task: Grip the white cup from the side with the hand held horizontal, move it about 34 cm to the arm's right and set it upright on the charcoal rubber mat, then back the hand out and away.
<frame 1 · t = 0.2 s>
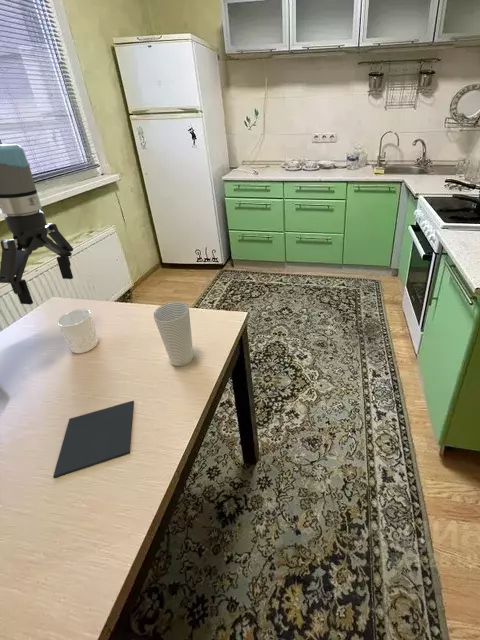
hand: (49, 290, 86), 18 cm above the table, tool pointing down, fingers open, 13 cm apart
white cup: (85, 346, 93), on the table
right mat: (98, 435, 67), on the table
cup: (182, 358, 87), on the table
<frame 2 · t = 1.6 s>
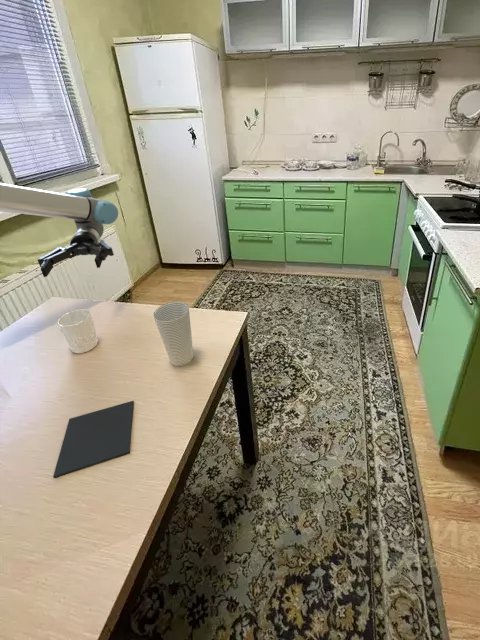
hand: (70, 268, 93), 20 cm above the table, tool horizontal, fingers open, 13 cm apart
nothing on the table moved.
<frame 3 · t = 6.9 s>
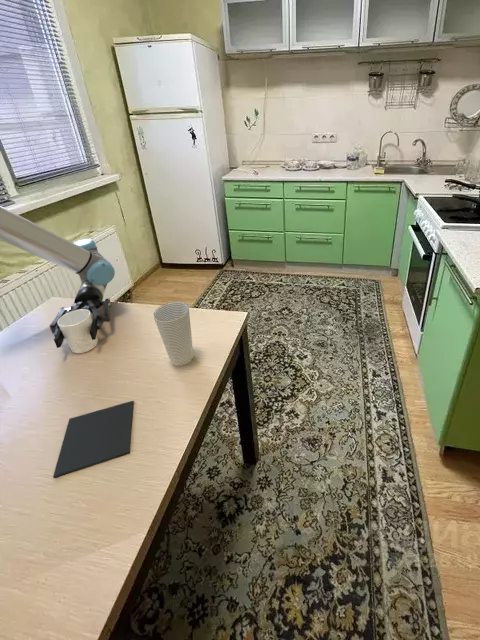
hand: (75, 339, 86), 6 cm above the table, tool horizontal, fingers closed on white cup, 8 cm apart
white cup: (85, 346, 93), on the table, touching gripper
everything else where it was.
when the fingers open (6 cm above the table, at t = 16.3 s): white cup stays where it is, resting on right mat.
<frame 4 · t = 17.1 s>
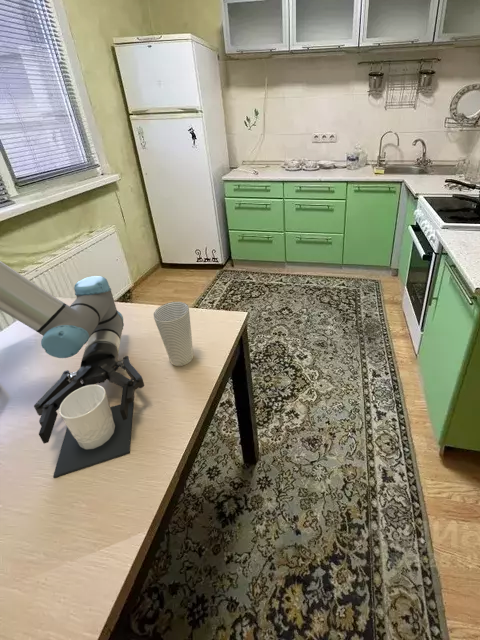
hand: (84, 426, 62), 7 cm above the table, tool horizontal, fingers open, 13 cm apart
white cup: (97, 434, 67), resting on right mat
everything else where it was.
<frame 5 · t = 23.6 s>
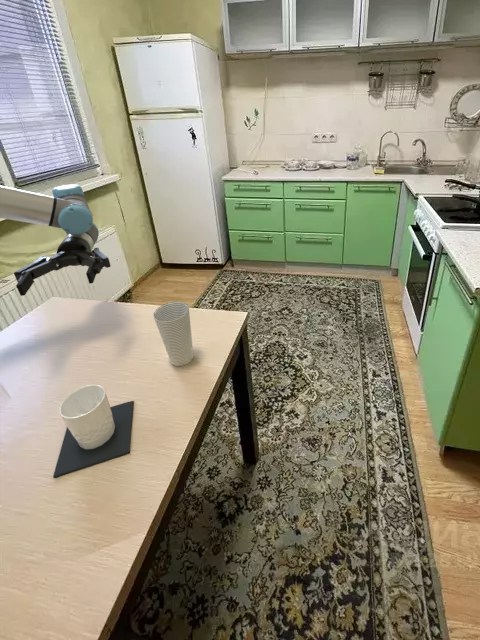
hand: (55, 284, 73), 26 cm above the table, tool horizontal, fingers open, 13 cm apart
nothing on the table moved.
at the end: white cup inside the target area on the right mat (0.0 cm from its centre), point 0.3 cm above the right mat's base; white cup tilted 0°; white cup moved 34.0 cm from its start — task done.
